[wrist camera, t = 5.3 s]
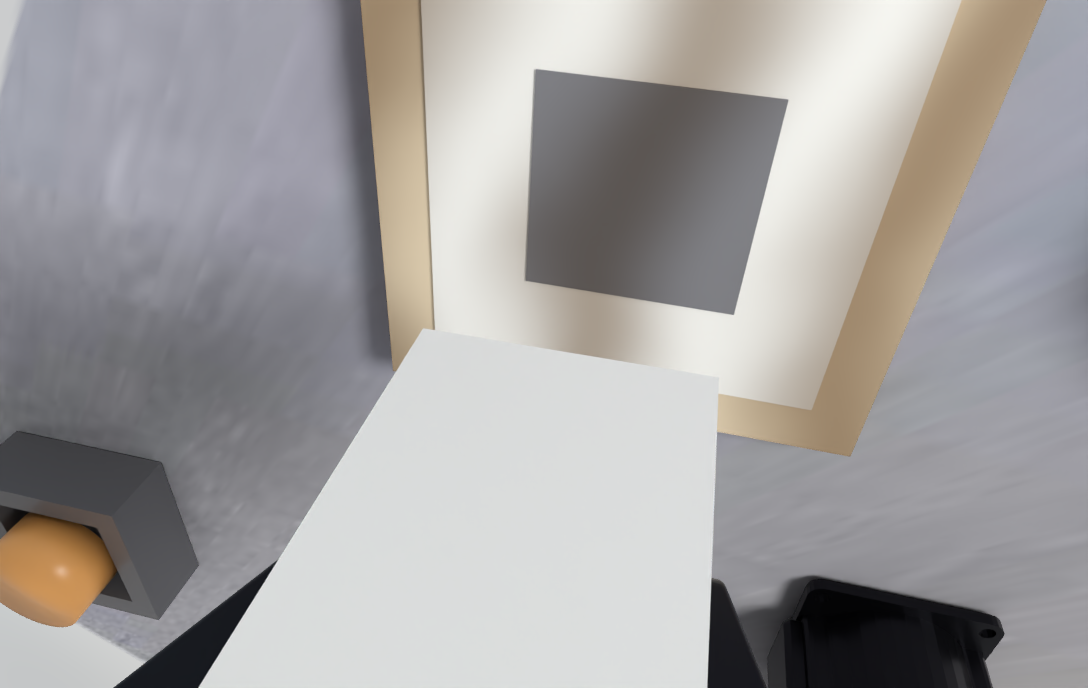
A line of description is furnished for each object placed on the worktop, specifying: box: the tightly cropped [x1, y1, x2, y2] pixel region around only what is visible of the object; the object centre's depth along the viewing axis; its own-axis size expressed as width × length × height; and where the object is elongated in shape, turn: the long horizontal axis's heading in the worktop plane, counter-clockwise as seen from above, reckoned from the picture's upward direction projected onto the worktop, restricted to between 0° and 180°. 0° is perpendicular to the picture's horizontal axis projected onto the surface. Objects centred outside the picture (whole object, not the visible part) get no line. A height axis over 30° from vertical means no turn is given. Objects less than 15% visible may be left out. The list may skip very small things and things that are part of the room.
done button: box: [0, 512, 117, 627], centre depth 30 cm, size 4×4×2 cm
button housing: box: [0, 431, 199, 620], centre depth 32 cm, size 7×7×3 cm
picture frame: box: [360, 0, 1047, 456], centre depth 18 cm, size 14×14×1 cm
